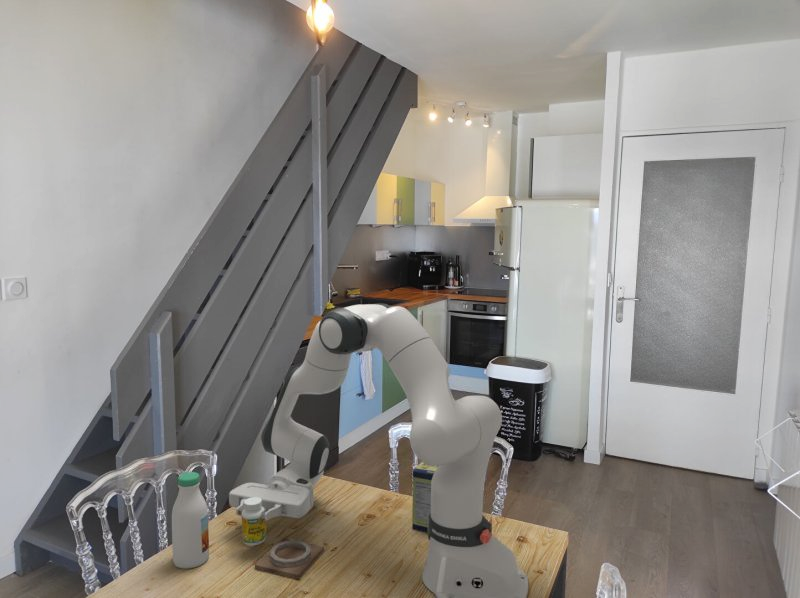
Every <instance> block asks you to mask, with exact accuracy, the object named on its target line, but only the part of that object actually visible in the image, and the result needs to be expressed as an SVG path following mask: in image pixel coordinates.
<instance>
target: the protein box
mask: <svg viewBox="0 0 800 598" xmlns="http://www.w3.org/2000/svg"><path fill="white" fill-rule="evenodd" d="M437 467H438V466H430V465H427V464H425V463H423V462H421V461H420V463H419V464H418V465H417V466H416V467H415V468H414V469H413V470H412V507H411V508H412V511H411V512H412V513H411V514H412V518H411V519H412V520H411V523H412V526H411V528H412V530H416V531H419V532H425V533H428V518H429V514H430V513H431V481H432V477H433V475H434V473H435V471H436V469H437Z"/></svg>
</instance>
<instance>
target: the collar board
mask: <svg viewBox="0 0 800 598" xmlns="http://www.w3.org/2000/svg"><path fill="white" fill-rule="evenodd" d="M324 552H325V546H321V545H316V544H312V543H308V542H306V541H303V540H298V539H289V538H285V537H283V538H282V539H281V540H280V541H278V542H277V543H276V544H275V545H274V546H272V548H270V550H269V551H268V552H267V553H266V554H265V555H264V556H263V557H261V558H260V559H259V560H258V561H257V562H256V563H255V564H254V570H257V571H261V572H266V573H270V574H273V575H277V576H282V577H287V578H291V579H296V580H300V579H301V577H303V575H305V573H306V572H307V571H308V570H309V569H310V567H311V566H312V565H313V564H315V562H316V561H317V560H318V559H319V558H320V557H321V556H322V554H323V553H324ZM299 578H300V579H299Z"/></svg>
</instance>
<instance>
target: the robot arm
mask: <svg viewBox="0 0 800 598" xmlns="http://www.w3.org/2000/svg"><path fill="white" fill-rule="evenodd" d="M322 316H323V317H321V319H320V320H319V321H318V323H316V325H315V327H314V329H313V332H312V334H311V337H310V339H309V342H308V345H307V349H306V353H305V358H304V360H303V363H302V364H301V365H300V366H295V367H294V368H293V369H292V370H291V371H290V373H288V375H287V377H286V379H285V381H284V382H283V385H282V388H281V390H280V393H279V394H278V397H277V400H276V402H275V405H274V407H273V410H272V412H271V414H270V415H269V416H270V417H269V419H268V421H267V422H266V424H265V426H264V428H263V430H262V432H261V436H260V439H261V444H262V447H263V449H264V451H265V453H269V454H271V455H275V456H277V457H280V458H282V459H285V460H287V461H289V462H290V463H288V464H287V465H286V466H285V468H282V469H280V470H279V471H278V472H276V473H275V474H273V475H271V476H270V477H269V478H268V479H267V481H265V484H262V483H257V482H246V483H243V484H240V485H239V486H237V487H235V488H233V489H232V490H230V491H229V493H228V501H229V502H228V503H229V506H230V507H232V508H236V510H235V513H236V516H241V517H242V511H243V510H244V509H245V508H244V501H245V500H246V499H248V498H252V497H258V498H261V499H262V507H263V508H264V509H265V510H264V511H263V512H262V513H261V516H262V517H261V519H262V520H266V521H269V520H270V519H271V518H272V519H273V518H275V517H279V516H282V517H288V518H294V519H300V518H303V517H304V516H305V515H307V514H308V513H309V512H310V510H311V509H312V508H313V506H314V501H315V500H314V499H315V497H314V487H315V486H316V485H317V484H318V483H319V481H320V480H321V478H322V477H323V474H324V471H325V469H326V467H327V465H328V462H329V461H330V454H331V447H330V443H329V440H328V438H327V436H326V435H324V434H322V433H320V432H318V431H316V430H314V429H311V428H310V427H307V426H305V425H302V424H300V423H298V422H296V421H295V420H293V418H292V416H291V415H292V413H293V410H294V408H295V406H296V404H297V401H298V399H299V396H300V395H325V394H329V393H332V392H334V391H336V390H337V389H339V388H340V387H341V386H342V385H343V384H344V382H345V379H346V378H347V374H348V371H349V366H350V362H351V357H352V354H353V353H355V354H356V353H361V352H369V351H372V350H373V351H374V350H375V349H376V350H379V352H380V353H381V354H382V356H383V358H384V359H385V361H386V362H387V365H388V367H389V368H390V369H391V371H392V373H393V374H394V376H395V378H396V380H397V381H398V383H399V385H400V387H401V389H402V390H403V392H404V394H405V396H406V398H407V401H408V405H409V409H410V413H411V421H412V422H411V424H412V425H411V427H410V432H409V443H410V447H411V450H412V453H413V454H414V455H415V456H416V458H417V459H418V460H419V461H420V463H421V462H423V463H425V464H427V465H430V466H438V467H437V469H436V471H435V473H434V475H433V477H432V481H431V513H430V514H429V518H428V532H427V535H428V536H427V537H428V539H427V540H428V549H427V556H426V560H425V564H424V568H423V571H422V573H421V574H422V575H421V579H422V582H423V584H424V586H425V587H426V588H427V589H428V590H429V591H431V592H432V593H433V594H434V595H435V598H527V597H528V594H529V580H528V579H529V578H528V575H527V574H526V572H525V571H524V570H522V569H520V568H518V563H517V559H516V556H515V554H514V552H513V550H511V549H510V548H509V547H508V546H507V545H505V544H504V543H503V542H502V541H500V540H499V539H498V538H497V537H496V536H494V535H493V518H492V517H491V518H490V519H489V521H488V519H487V518H486V517H485V516H484V514H483V513H484V512H483V508H484V507H483V506H484V488H485V487H484V485H485V479H486V474H487V469H488V466H489V462H490V458H491V454H492V451H493V450H492V449H493V447H494V442H495V439H496V437H497V434H498V433H499V431H500V430H501V427H502V424H503V415H502V412H501V409H500V407H499V405H498V404H497V403H496V402H495V401H494V400H493V399H492V398H490V397H489V396H486V395H467V396H464V397H461V398H459V399H456V400H455V398H454V396H453V394H452V391H451V388H450V383H449V377H450V373H451V371H450V367H449V364H448V362H447V361H446V359H445V357H444V356H443V355H442V353H441V351H440V350H439V348H438V346H437V345H436V344H435V342H434V341H433V339H432V338H431V336H430V335H429V333H428V332H427V331H426V330H425V328H424V326H423V325H422V324H421V322H420V321H418V319H417V318H416V317H415V316H414V315H413V314H412V313H411V312H410V311H409V310H408V309H407V308H405V307H403V306H400V305H396V306H392V305H389V304H387V303H382V302H381V303H379V302H377V303H372V304H371V303H368V304H367V303H366V304H359V303H358V304H353V305H350V306H345V307H338V308H334V309H333V310H331V311H328V312H327V313H325V314H324V315H322Z"/></svg>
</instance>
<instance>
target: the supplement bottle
mask: <svg viewBox="0 0 800 598" xmlns="http://www.w3.org/2000/svg"><path fill="white" fill-rule="evenodd" d="M244 508H245V509H244V510H243V511H242V516H241V532H242V533H241V535H242V536H241V537H242V542H243V544H245V545H246V546H258V545H261V544H263V542H265V541H266V539H267V529H266V528H267V527H266V521H267V520H262V519H261V517H262V516H261V513H262V512H263V511H264V510H265V509H264V508H263V507H262V499H261V498H258V497H252V498H248V499H246V500H245V501H244Z"/></svg>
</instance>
